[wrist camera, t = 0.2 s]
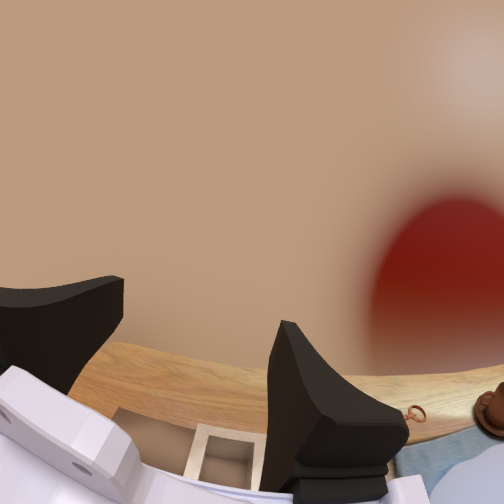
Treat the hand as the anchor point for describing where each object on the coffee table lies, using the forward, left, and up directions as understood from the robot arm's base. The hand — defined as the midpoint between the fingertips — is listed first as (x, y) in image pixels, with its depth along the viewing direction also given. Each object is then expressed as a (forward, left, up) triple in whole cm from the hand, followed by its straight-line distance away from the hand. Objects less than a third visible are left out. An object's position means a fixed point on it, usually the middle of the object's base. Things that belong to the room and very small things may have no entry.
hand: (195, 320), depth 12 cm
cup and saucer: (+10, -48, -21) cm, 53 cm away
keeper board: (+1, +2, -21) cm, 21 cm away
